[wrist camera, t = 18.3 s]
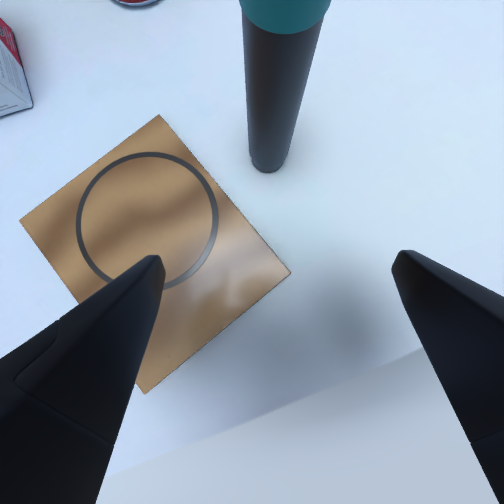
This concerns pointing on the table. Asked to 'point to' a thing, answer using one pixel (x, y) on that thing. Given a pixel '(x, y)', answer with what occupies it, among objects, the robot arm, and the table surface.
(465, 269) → the table surface
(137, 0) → the soda can
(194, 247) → the sketch board
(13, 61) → the ink box
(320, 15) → the disc
